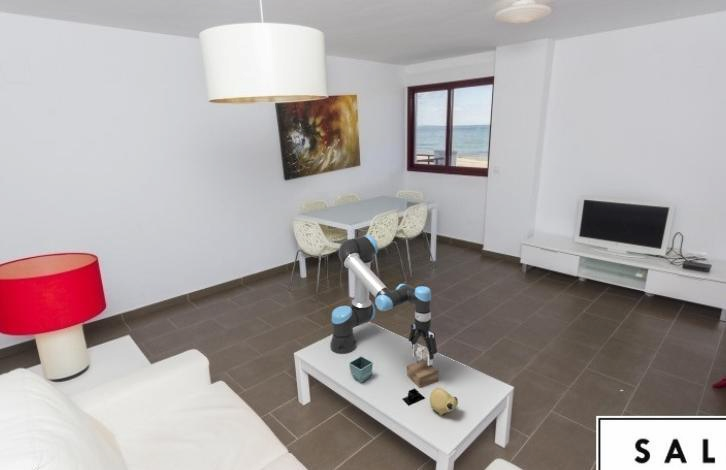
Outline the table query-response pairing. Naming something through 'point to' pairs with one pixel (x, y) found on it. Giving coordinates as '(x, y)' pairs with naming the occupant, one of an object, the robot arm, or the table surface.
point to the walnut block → (422, 373)
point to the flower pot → (361, 368)
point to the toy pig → (442, 401)
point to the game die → (421, 353)
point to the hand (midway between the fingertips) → (422, 359)
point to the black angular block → (413, 397)
